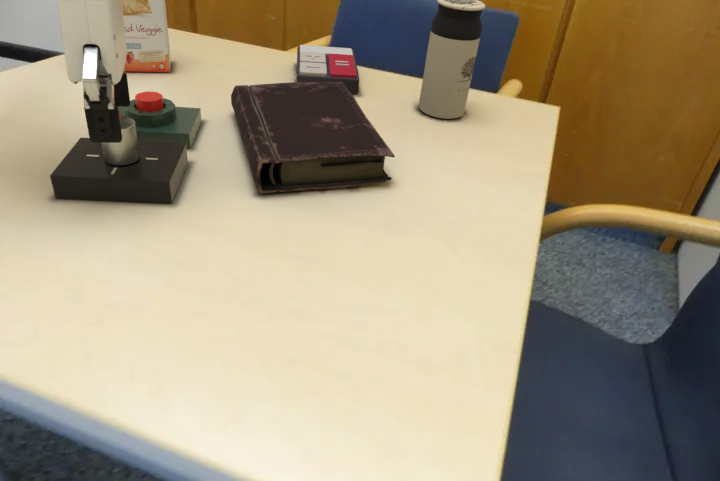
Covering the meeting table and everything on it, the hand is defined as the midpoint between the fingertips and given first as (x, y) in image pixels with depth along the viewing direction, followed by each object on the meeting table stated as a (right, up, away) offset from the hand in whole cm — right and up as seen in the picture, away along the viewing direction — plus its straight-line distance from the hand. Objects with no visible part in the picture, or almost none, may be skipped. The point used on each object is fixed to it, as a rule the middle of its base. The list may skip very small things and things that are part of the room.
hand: (111, 122), depth 64 cm
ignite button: (-1, +5, +13) cm, 14 cm away
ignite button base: (-1, +2, +16) cm, 16 cm away
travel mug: (+43, +9, +33) cm, 55 cm away
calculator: (+22, +16, +40) cm, 49 cm away
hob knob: (0, -4, +2) cm, 5 cm away
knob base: (0, -6, +4) cm, 8 cm away
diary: (+21, 0, +16) cm, 27 cm away
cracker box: (-13, +17, +36) cm, 42 cm away
